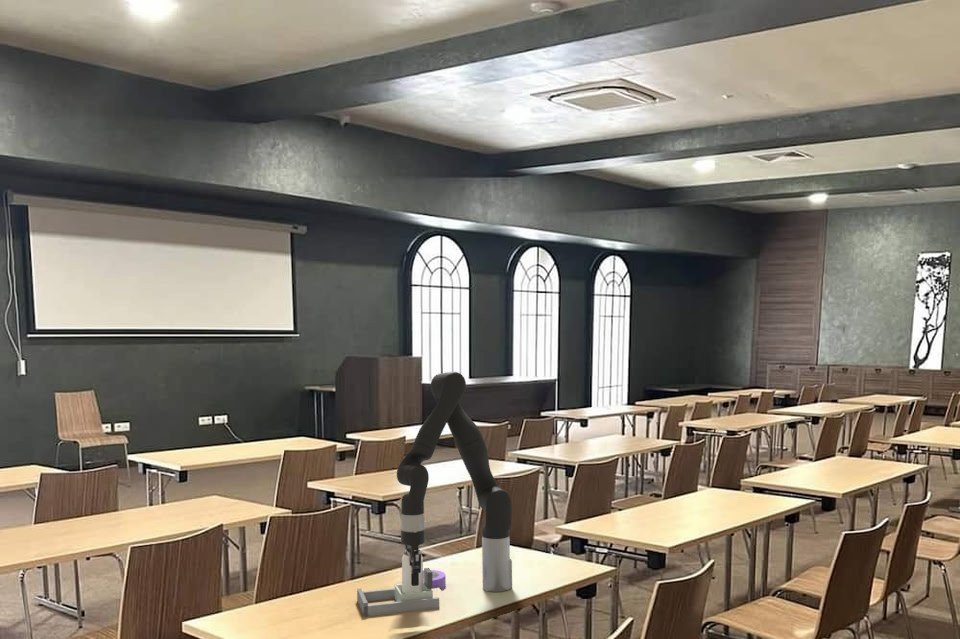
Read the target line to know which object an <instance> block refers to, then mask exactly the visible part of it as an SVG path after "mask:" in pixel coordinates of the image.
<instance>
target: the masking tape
mask: <svg viewBox="0 0 960 639" xmlns="http://www.w3.org/2000/svg"><path fill="white" fill-rule="evenodd" d="M430 570H431V571H432V588H435V587H438V589H439V590H442V589H444V588H445V587H446V586H445V585H446V582H447V580H446V573H445V572H443V571H441V570H435V569H430ZM423 582H424V569H423Z"/></svg>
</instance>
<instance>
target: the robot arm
mask: <svg viewBox="0 0 960 639" xmlns="http://www.w3.org/2000/svg"><path fill="white" fill-rule="evenodd" d="M466 388H467V382H466V379H465V377H464V375H463V374H461V373H460V372H459V371H458V372H457V371H447V372H442V373H441V372H440V373H437V374H436V375H434V376H433V377H432V378H431V382H430V390H431V394H432V395H433V398H434V400H435V402H436V405H435V406H434V408H433V410H432V412H431V413H430V415H428V416H427V418H426V420H424V422H423V424H422V425H421V427H420V428H419V430H418V432H417V434H416V437H415V438H414V442H413V444H412V446H411V448H410V450H408V452H407V453H406V455H405V456H404V457H403V459H402V460H401V461H400V463H399V465H398V467H397V470H396V479H397V482H398V483H400V484H401V485H403V486H408V487H409V492H408V493H405V494H403V495H402V497H401V505H400V506H401V517H400V544H402V545H403V546H404V550H405V551H404V552H406V554H407V555H408V557H409V566H411V585H412V586H418V585H419V573H421V557H423V555H422V553H421V554H420V552H421V550H420V549H419V546H420V545H423V544H425V542H426V520H425V502H424V501H425V498H426V494H427V489H428V485H429V477H430V475H429V472H428V469H427V467H426V466H425V465H423V464H422V463H423V462H425V461H428V460H430V459H431V458H432V456H433V455H434V452H435V449H436V448H437V446H438V445H437V444H438V443H439V439H440V438H441V435H442V433H443V432H444V429H445V427H446V425H447V426H448V429H449V430H450V433H451V435H452V437H453V440H454V443H455V446H456V448H457V450H458V453H459V455H460V457H461V459H462V462H463V464H464V466H465V468H466V471H467V473H468V475H469V477H470V479H471V482H472V484H473V487H474V492H475V495H476V498H477V501H478V505H479V508H480V509H482V511H484V512H485V524H484V526H482V528H481V541H482V542H481V552H482V553H481V554H482V555H481V560H482V562H481V563H482V567H481V568H482V572H481V573H482V589H483V590H485V591H486V592H493V593H499V592H506V591H509V590H512V589H513V560H512V559H511V558H510V557H511V554H510V553H511V549H510V548H511V547H510V534H511V533H510V532H511V529H512V519H513V518H512V515H513V507H512V506H513V503H512V497H511V496H510V495H511V494H510V493H509V492H508V491H507V490H505V489H503V488H500V487H499V485H498V484H497V482H496V480H495V477H494V476H493V473H492V471H491V467H490V462H489V461H490V459H489V452H488V451H489V450H488V448H487V444H486V442H485V439H484V437H483V435H482V432H481V430H480V429H479V427H478V426H477V424H476V423H475V422H474V421H473V420H472V418H470V417H469V415H468V414H467V413H466V411H464V408H463V407H462V405H461V403H460V401H461V399H462V397H463V395H464V394H465V391H466ZM421 555H422V556H421ZM411 560H413V563H412V562H411ZM415 566H417V569H415Z"/></svg>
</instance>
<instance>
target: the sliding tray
mask: <svg viewBox="0 0 960 639" xmlns="http://www.w3.org/2000/svg"><path fill="white" fill-rule="evenodd" d="M423 570H424V582H423V591H422V592H414V593H405V594H404V593H403V592H402V583H400V584H398V583H397V584H394V588H395V598H394V600H395V601H394V602H399V601H408V600H417V599H426V598H434V591H433V590H432V589H433V587H432V571H431V570H432V569H431V568H430V567H426V568H425V567H423Z"/></svg>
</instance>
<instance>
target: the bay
mask: <svg viewBox="0 0 960 639" xmlns="http://www.w3.org/2000/svg"><path fill="white" fill-rule="evenodd" d="M356 592H357V593H356V595H357V598H356V600H357V604H358V607H359V608H360V611H361V613H362V616H363V617H371V616H372V617H373V616H378V615H388V614H397V613H406V612H407V613H408V612H413V611H415V612H417V611H422V610H424V611H425V610H431V609H433V610H434V609H440V597H439V596H438V597H433V598H426V599H417V600H408V601H399V602H396V601H391V602H389V601H388V602H383V603H382V602H381V603H373V604H372V603H371V604H369V602H374V601H383V600H391V599H394V600H395V587H393V588H392V587H391V588H383V589H382V588H381V589H373V590H365V591H363V589H362V587H361V588H357V590H356Z"/></svg>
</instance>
